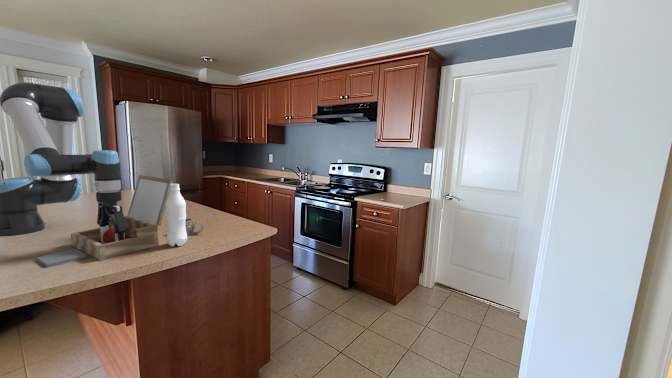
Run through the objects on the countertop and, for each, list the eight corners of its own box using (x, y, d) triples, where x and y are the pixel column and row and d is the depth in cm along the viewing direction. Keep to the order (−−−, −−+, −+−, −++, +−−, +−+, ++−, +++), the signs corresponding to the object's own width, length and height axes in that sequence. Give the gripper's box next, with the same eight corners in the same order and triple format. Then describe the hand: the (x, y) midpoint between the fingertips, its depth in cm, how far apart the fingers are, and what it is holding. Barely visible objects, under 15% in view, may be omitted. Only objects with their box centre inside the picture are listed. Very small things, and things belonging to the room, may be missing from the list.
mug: (173, 235, 123) (172, 221, 122) (182, 231, 130) (181, 217, 129) (199, 237, 123) (198, 222, 122) (207, 232, 130) (206, 218, 129)
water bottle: (191, 243, 115) (189, 183, 111) (176, 248, 108) (173, 185, 104) (178, 240, 117) (175, 182, 113) (163, 246, 110) (159, 184, 107)
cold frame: (72, 245, 107) (70, 225, 106) (128, 233, 124) (126, 216, 123) (100, 260, 95) (98, 238, 94) (158, 244, 111) (157, 225, 110)
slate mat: (37, 260, 93) (36, 257, 93) (75, 251, 102) (75, 248, 102) (47, 267, 88) (47, 264, 88) (87, 257, 97) (86, 254, 97)
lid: (139, 175, 125) (142, 175, 126) (127, 216, 123) (130, 216, 124) (170, 179, 113) (173, 180, 114) (158, 225, 110) (161, 226, 111)
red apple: (111, 249, 105) (110, 229, 104) (99, 247, 106) (97, 227, 105) (126, 244, 111) (124, 225, 110) (114, 242, 112) (112, 223, 111)
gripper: (83, 188, 108) (88, 242, 111) (111, 195, 96) (116, 255, 99) (106, 186, 114) (110, 237, 118) (135, 193, 103) (139, 249, 106)
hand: (113, 245), depth 109 cm, fingers open, 12 cm apart
